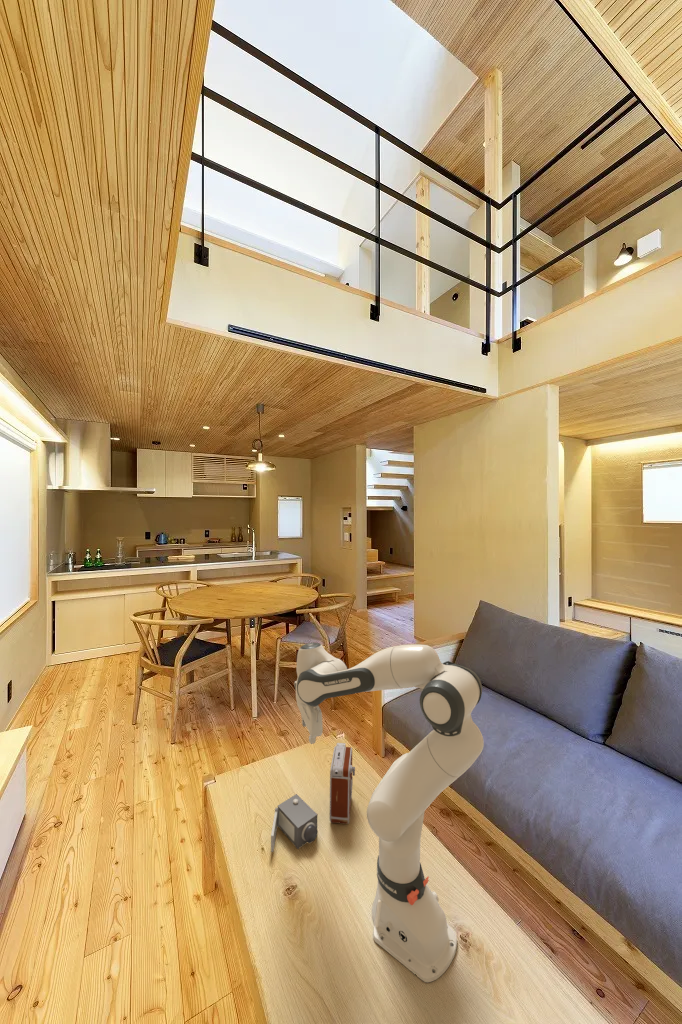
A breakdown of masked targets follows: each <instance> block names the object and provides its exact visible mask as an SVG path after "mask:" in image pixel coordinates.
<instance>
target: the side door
mask: <svg viewBox="0 0 682 1024" xmlns="http://www.w3.org/2000/svg"><path fill="white" fill-rule="evenodd" d="M272 821H273V823H272V828H271V834H270V852H271V853H274V850H275V844H276V843H275V842H276V838H277V837H276V836H277V832H278V828H279V827H278V807H275V808H274V816H273V820H272Z"/></svg>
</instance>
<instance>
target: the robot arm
mask: <svg viewBox="0 0 682 1024" xmlns="http://www.w3.org/2000/svg"><path fill="white" fill-rule="evenodd" d="M295 668H296V675H297V678H296V680H295V681H294V683H293V684H294V686H293V687H294V689H295V700H296V706H297V708H298V711H299V713H300V716H301V724H302V727H306V729H307V730H308V733H309V735H308V742H309V743H310V745H312V744H315V743H316V738H317V737H321V736H322V734H323V713H322V710H321V707H320V706H319V705H320V704H321V703H323V702H324V701H325V700H327V699H331V698H337V697H343V696H349V695H354V694H359V693H360V694H361V693H366V692H368V693H370V692H375V691H388V690H404V689H409V688H417V689H420V690H421V693H420V695H419V706H420V709H421V712H422V715H423V717H424V718H425V719H426V721H427V723H429V725H430V726H431V727H432V729H433V730H431V731H430V732H429V733H428V734H427V735H426V736H425V737H424V738H422V739H421V740H420V742H419V743H417V744H416V745H415V746H414V747H413V748H412V749H411V750H410V752H406V753H404V754H402V755H401V756H399V757H398V758H397V759H395V760H394V762H393V763H392V764H391V766H390V767H389V769H388V770H387V771H386V773H385V774H384V775H383V778H382V779H381V780H380V782H379V783H378V784H377V786H376V787H375V789H374V790H373V792H372V794H371V796H370V799H369V802H368V805H367V808H366V819H367V822H368V825H369V827H370V829H371V830H372V832H373V833H374V834H375V836H376V837H378V855H377V856H378V857H377V861H376V862H377V863H376V877H377V883H376V884H377V885H376V893H375V897H374V900H373V903H372V907H371V915H372V921H373V926H374V927H373V932H372V939H373V941H374V942H375V943H376V944H377V945H378V946H380V947H381V948H382V949H383V950H384V951H386V952H387V953H389V954H390V955H391V956H392V957H393V958H394V959H396V960H397V961H398V962H399V963H400V964H402V965H403V966H404V967H406V968H407V969H408V970H409V971H410V972H412V974H414V975H415V974H416V975H417V977H418V978H419V979H420V980H421V981H423V982H424V983H431V982H434V981H436V980H438V979H439V978H441V977H442V976H443V974H444V973H445V972H446V971H447V970H448V968H449V967H450V965H451V963H452V962H453V960H454V957H455V956H456V953H457V946H458V939H457V934H456V932H455V931H454V930H453V928H452V927H451V926H450V924H449V923H448V921H447V917H446V913H445V911H444V909H443V908H442V906H441V905H440V903H439V900H440V899H439V896H438V894H437V892H436V891H432V889H430V887H429V885H428V882H429V881H430V880H429V879H430V877H429V875H428V876H427V877H426V878H425V873H424V870H423V867H422V863H421V840H422V839H421V838H422V831H423V825H424V819H425V811H426V810H427V809H428V808H429V806H430V805H431V804H432V803H433V802H434V801H435V800H436V798H438V796H439V795H440V794H441V793H442V792H444V790H445V789H447V788H449V786H451V784H453V782H455V781H456V780H458V778H460V777H461V776H462V775H464V773H465V772H467V770H469V768H471V767H472V765H473V764H474V763H475V762H476V761H477V759H478V758H479V757H480V755H481V753H482V751H483V749H484V744H485V742H484V737H483V734H482V732H481V730H480V727H478V726H477V724H476V723H475V722H474V721H473V718H472V712H473V710H474V709H475V707H476V706H477V705H478V704H479V703H480V700H481V699H482V694H483V686H482V681H481V679H480V678H479V676H478V674H477V673H476V672H475V671H473V670H472V669H470V668H468V667H466V666H463V665H459V664H456V663H455V662H452V661H449V660H448V661H445V662H443V663H442V661H441V659H440V656H439V654H438V652H436V650H435V648H433V647H432V646H430V645H427V644H418V643H417V644H413V643H412V644H408V643H407V644H399V645H394V646H390V647H386V648H384V649H381V650H379V651H377V652H375V653H373V654H371V655H370V656H369V657H367V658H366V659H365V660H363V661H361V662H360V663H358V664H356V665H355V666H352V667H350V668H349V667H348V666H347V664H346V662H344V660H342V659H341V658H338V657H335V656H333V655H332V654H331V653H329V652H327V650H326V649H325V648H324V646H323V644H322V643H320V642H316V641H315V642H313V641H312V642H308V643H305V644H303V645H301V646H300V647H299V648H298V651H297V655H296V667H295ZM416 975H415V976H416Z"/></svg>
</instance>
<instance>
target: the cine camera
mask: <svg viewBox="0 0 682 1024" xmlns="http://www.w3.org/2000/svg"><path fill="white" fill-rule="evenodd" d="M355 773H356V767H355V766H353V747H350V746H346V742H345V743H344V742H337V743H336V745H335V746H334V748H333V753H332V760H331V764H330V771H329V822H330V823H333V824H345V825H349V824H350V819H351V810H352V809H351V807H352V798H353V779H354V778H353V776H356V774H355Z"/></svg>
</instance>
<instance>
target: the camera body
mask: <svg viewBox="0 0 682 1024" xmlns="http://www.w3.org/2000/svg"><path fill="white" fill-rule="evenodd" d="M277 808H278V827H277V828H279V829H280V831H281V832H282V833H283V834H284V835H285V836H286V837H287V838H288V839H289V841H290V842H291V843H292V845H294V846H295V848H296V849H297V850H299V849H300V848H302V847H303V846H304V845H306V844H307V843H308V844H311V843H313V842H314V841H315V840H316V838H317V836H318V833H319V831H318V813H317V812H316V811H315V810H314V809H313V808H311V807H310V806H309V805H308V804H307V803H306V802H305V801H304V799H303V798H301V797H300V795H298V794H297V793H296V794H294V795H293V796H291V797H290V798H287V799H286V800H285V801H283V802H281V803H279V804H277Z"/></svg>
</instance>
